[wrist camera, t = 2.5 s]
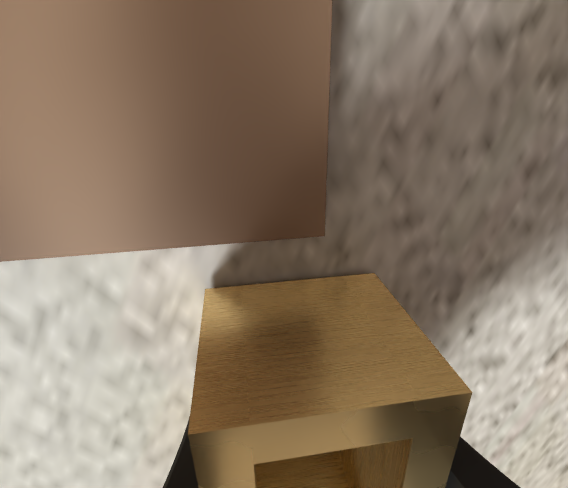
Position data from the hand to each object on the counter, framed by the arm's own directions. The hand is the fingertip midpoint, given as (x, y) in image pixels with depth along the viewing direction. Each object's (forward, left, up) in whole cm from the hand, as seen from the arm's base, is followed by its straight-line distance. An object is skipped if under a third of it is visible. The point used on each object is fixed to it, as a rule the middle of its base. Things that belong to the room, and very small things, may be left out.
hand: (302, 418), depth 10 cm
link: (0, 0, -1) cm, 1 cm away
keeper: (+3, -13, -2) cm, 13 cm away
